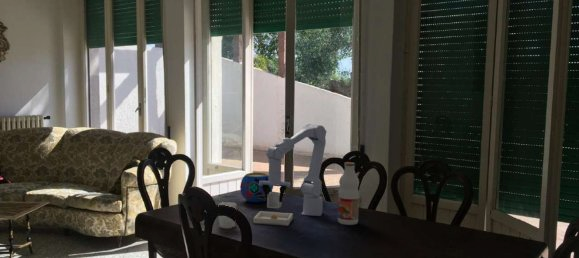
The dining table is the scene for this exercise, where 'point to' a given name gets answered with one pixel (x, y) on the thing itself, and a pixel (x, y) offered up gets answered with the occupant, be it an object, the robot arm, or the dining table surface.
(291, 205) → the dining table surface
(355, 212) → the fruit juice
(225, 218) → the white cup
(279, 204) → the silver open box
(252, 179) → the ceramic pot
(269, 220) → the tray
